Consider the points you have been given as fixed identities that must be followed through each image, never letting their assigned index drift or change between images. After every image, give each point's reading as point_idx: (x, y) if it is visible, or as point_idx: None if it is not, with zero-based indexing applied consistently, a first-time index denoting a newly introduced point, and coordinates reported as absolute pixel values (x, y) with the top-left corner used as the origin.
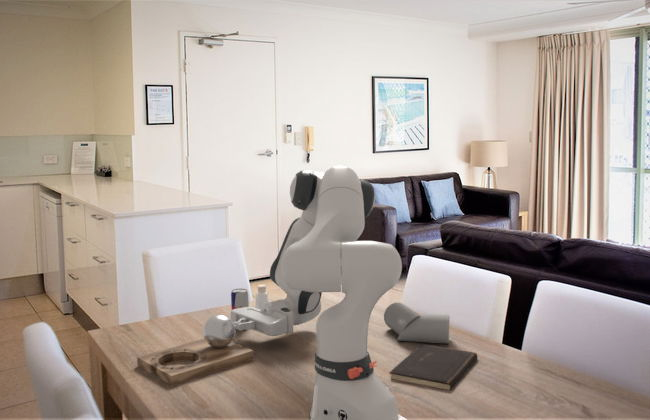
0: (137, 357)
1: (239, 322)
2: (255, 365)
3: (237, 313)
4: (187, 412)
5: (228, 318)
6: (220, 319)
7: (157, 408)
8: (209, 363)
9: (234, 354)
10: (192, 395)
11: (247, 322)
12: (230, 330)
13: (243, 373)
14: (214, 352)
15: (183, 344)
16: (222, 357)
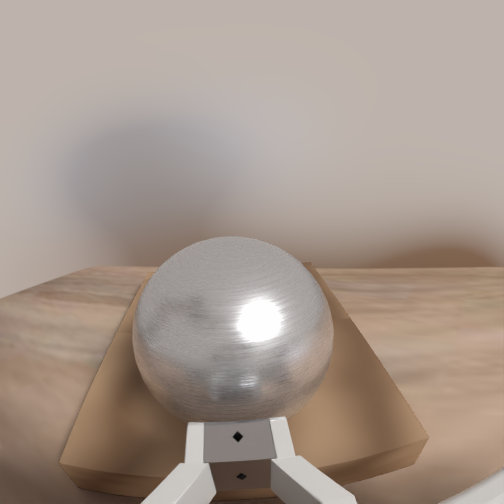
0: (308, 262)
1: (247, 449)
2: (36, 448)
3: (495, 473)
4: (57, 280)
5: (175, 283)
6: (181, 250)
7: (105, 268)
8: (125, 324)
9: (103, 396)
10: (84, 297)
11: (170, 489)
12: (132, 329)
13: (40, 391)
14: None
15: (355, 328)
16: (123, 361)
